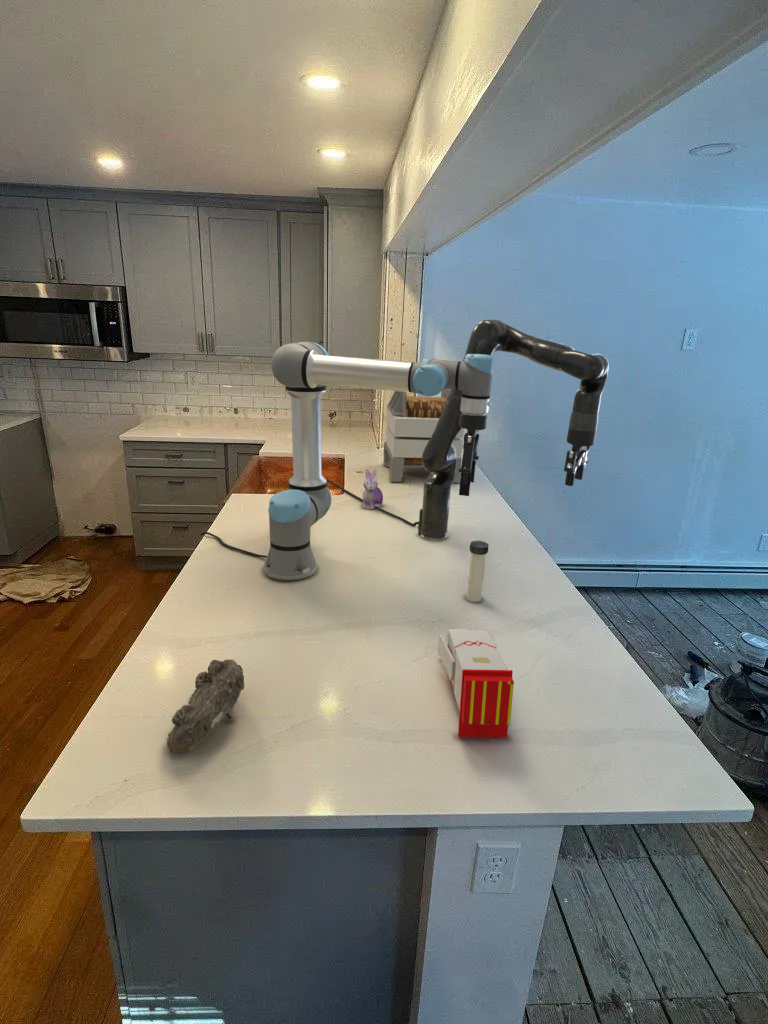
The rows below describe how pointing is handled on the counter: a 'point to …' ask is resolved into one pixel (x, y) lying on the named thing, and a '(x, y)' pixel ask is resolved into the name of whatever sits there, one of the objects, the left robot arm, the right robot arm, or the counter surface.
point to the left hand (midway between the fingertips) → (466, 488)
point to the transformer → (414, 431)
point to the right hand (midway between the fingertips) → (573, 482)
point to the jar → (475, 577)
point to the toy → (478, 682)
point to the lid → (479, 547)
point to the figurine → (371, 491)
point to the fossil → (206, 705)
